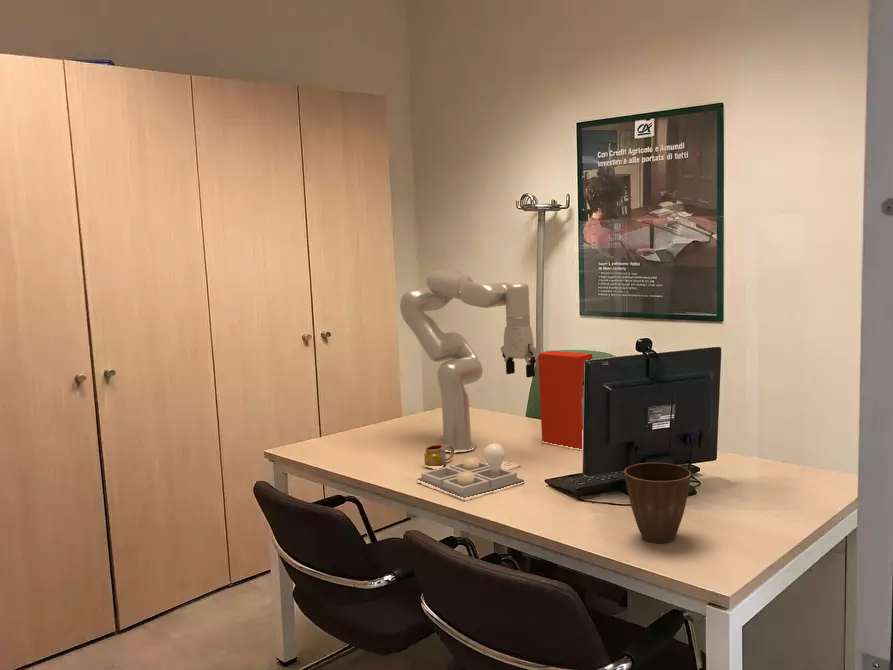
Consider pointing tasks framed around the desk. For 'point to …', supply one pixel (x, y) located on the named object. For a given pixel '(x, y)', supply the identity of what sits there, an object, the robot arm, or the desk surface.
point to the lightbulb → (494, 458)
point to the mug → (437, 455)
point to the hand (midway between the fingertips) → (520, 375)
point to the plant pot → (657, 498)
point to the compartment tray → (469, 478)
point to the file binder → (562, 397)
